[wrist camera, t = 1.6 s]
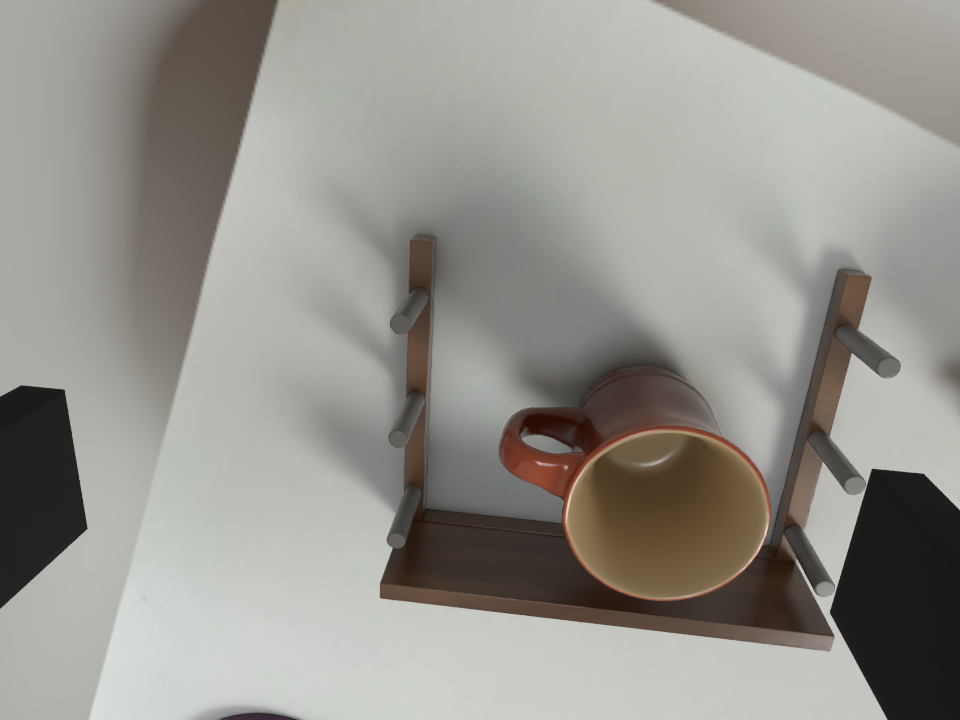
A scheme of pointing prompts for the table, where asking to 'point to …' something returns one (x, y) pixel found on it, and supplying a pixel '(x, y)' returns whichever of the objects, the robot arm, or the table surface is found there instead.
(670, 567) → the mug
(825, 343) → the dish rack
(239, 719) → the plum lid
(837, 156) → the table surface
